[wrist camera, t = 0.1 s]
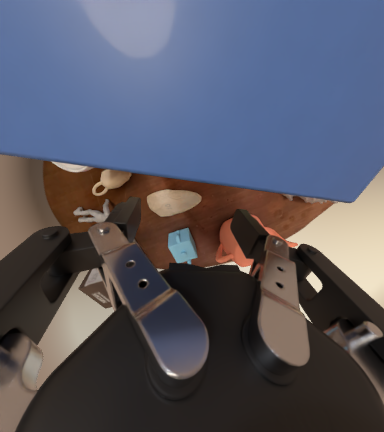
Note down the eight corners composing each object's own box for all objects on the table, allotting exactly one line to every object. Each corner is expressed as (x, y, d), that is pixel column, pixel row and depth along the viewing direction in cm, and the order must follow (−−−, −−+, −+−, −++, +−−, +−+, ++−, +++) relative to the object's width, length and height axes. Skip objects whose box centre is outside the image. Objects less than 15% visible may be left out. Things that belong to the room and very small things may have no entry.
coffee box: (108, 235, 41) (75, 288, 28) (128, 228, 41) (105, 279, 27) (125, 255, 46) (104, 309, 32) (143, 250, 46) (130, 302, 32)
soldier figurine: (97, 217, 40) (133, 220, 37) (80, 229, 36) (119, 233, 33) (86, 197, 37) (125, 198, 34) (66, 207, 33) (108, 210, 30)
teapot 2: (271, 234, 48) (297, 263, 37) (213, 251, 49) (224, 284, 39) (270, 200, 41) (303, 224, 30) (203, 221, 42) (213, 252, 32)
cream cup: (137, 175, 33) (131, 182, 29) (107, 190, 34) (97, 199, 30) (126, 158, 31) (118, 163, 27) (95, 174, 32) (82, 182, 28)
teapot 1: (197, 249, 48) (201, 267, 41) (180, 254, 48) (181, 273, 42) (186, 221, 41) (188, 238, 35) (166, 228, 42) (165, 245, 36)
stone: (144, 191, 35) (143, 194, 34) (199, 182, 36) (200, 184, 34) (153, 217, 40) (152, 221, 38) (202, 209, 40) (203, 212, 38)
